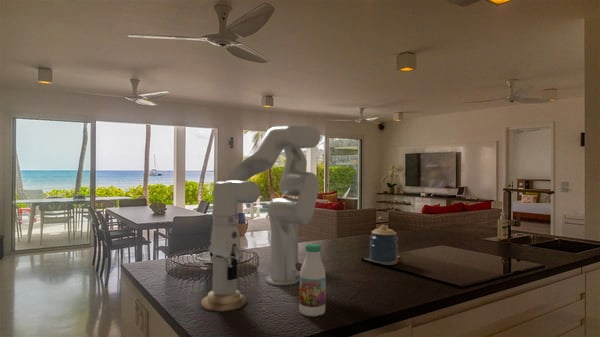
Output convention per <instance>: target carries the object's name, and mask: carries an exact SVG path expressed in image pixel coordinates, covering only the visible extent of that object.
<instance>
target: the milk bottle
mask: <svg viewBox="0 0 600 337" xmlns="http://www.w3.org/2000/svg"><path fill="white" fill-rule="evenodd" d="M304 246H305V251H304V253H305V258H304V261H303V262H302V265H301V267H300V271H301V272H300V277H299V301H298V302H299V303H298V304H299V305H298V306H299V308H298V310H299V313H300V314H302V315H304V316H306V317H318V316H319V315H320V316H323V315H324V314H325V312H326V289H327V288H326V270H325V266H324V263H323V261H322V258H321V250H322V246H321V244H318V243H307V244H305V245H304ZM320 316H319V317H320Z"/></svg>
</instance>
